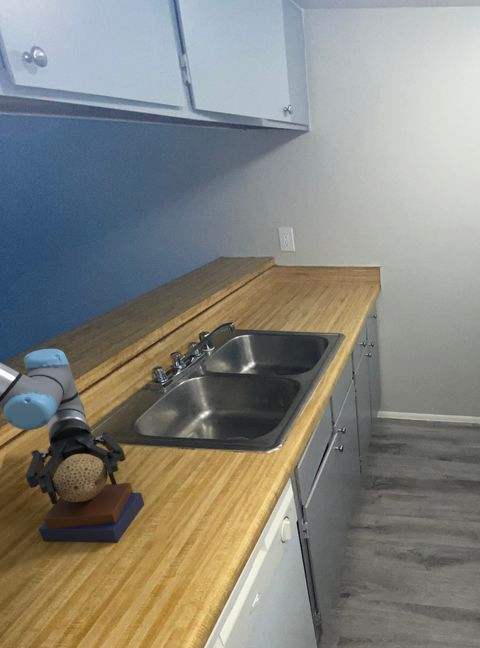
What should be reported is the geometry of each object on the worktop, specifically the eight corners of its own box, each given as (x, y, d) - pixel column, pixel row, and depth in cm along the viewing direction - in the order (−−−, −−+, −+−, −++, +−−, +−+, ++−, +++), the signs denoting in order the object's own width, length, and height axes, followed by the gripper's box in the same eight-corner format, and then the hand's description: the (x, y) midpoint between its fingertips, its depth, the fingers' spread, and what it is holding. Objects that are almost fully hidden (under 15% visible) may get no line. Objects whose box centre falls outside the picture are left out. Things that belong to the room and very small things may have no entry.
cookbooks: (43, 541, 90) (33, 519, 88) (78, 502, 100) (70, 481, 98) (117, 542, 91) (109, 520, 88) (144, 504, 101) (138, 482, 98)
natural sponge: (115, 506, 92) (101, 465, 87) (60, 522, 87) (42, 479, 83) (113, 480, 98) (100, 440, 94) (62, 493, 94) (46, 452, 90)
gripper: (129, 433, 110) (151, 483, 95) (14, 464, 98) (18, 527, 83) (121, 405, 107) (142, 452, 91) (1, 434, 95) (2, 494, 79)
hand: (83, 488), depth 87 cm, fingers closed on natural sponge, 9 cm apart
